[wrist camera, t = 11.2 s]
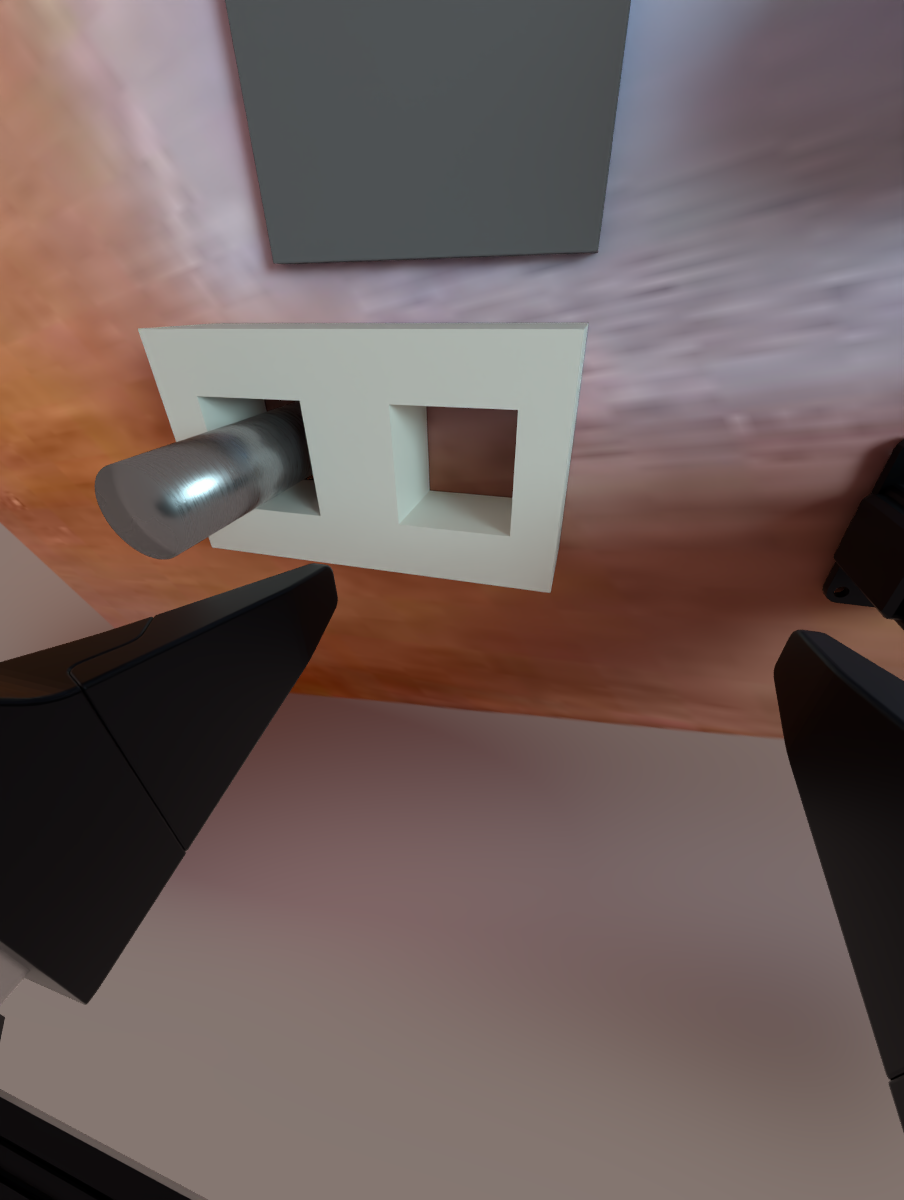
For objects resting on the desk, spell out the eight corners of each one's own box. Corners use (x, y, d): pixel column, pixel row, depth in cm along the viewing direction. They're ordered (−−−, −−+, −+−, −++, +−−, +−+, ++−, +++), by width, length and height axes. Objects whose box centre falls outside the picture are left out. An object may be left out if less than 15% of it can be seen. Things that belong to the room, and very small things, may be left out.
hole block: (588, 322, 16) (584, 329, 13) (558, 548, 21) (550, 592, 18) (212, 323, 20) (137, 328, 17) (262, 515, 25) (212, 547, 22)
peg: (338, 400, 20) (162, 467, 12) (347, 467, 22) (198, 564, 14) (279, 398, 21) (77, 460, 13) (292, 463, 23) (120, 553, 15)
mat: (664, -253, 10) (666, -281, 10) (597, 252, 15) (597, 251, 15) (213, -128, 13) (198, -145, 12) (282, 264, 18) (273, 263, 17)
